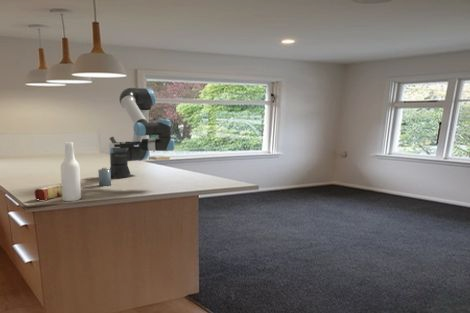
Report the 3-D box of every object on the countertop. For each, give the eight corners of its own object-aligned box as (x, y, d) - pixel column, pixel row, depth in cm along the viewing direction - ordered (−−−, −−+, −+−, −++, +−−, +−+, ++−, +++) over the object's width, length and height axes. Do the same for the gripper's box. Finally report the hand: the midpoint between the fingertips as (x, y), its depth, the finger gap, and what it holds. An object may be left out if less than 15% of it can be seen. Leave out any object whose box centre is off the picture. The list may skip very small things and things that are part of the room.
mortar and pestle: (130, 155, 210) (129, 136, 209) (127, 157, 201) (126, 137, 200) (112, 155, 209) (111, 136, 208) (108, 157, 200) (107, 137, 198)
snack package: (66, 192, 193) (65, 180, 192) (75, 192, 191) (75, 181, 190) (34, 200, 172) (33, 188, 172) (44, 202, 170) (43, 189, 170)
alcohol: (83, 197, 180) (80, 141, 176) (78, 201, 171) (75, 143, 168) (65, 197, 178) (62, 141, 175) (60, 202, 170) (56, 143, 166)
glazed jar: (97, 185, 210) (96, 167, 209) (108, 183, 215) (107, 166, 213) (101, 187, 205) (101, 169, 204) (112, 185, 210) (112, 168, 208)
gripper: (145, 152, 195) (106, 152, 193) (152, 149, 217) (117, 149, 215) (145, 140, 194) (105, 139, 193) (152, 137, 216) (116, 137, 215)
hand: (111, 144), depth 204 cm, fingers closed on mortar and pestle, 9 cm apart
